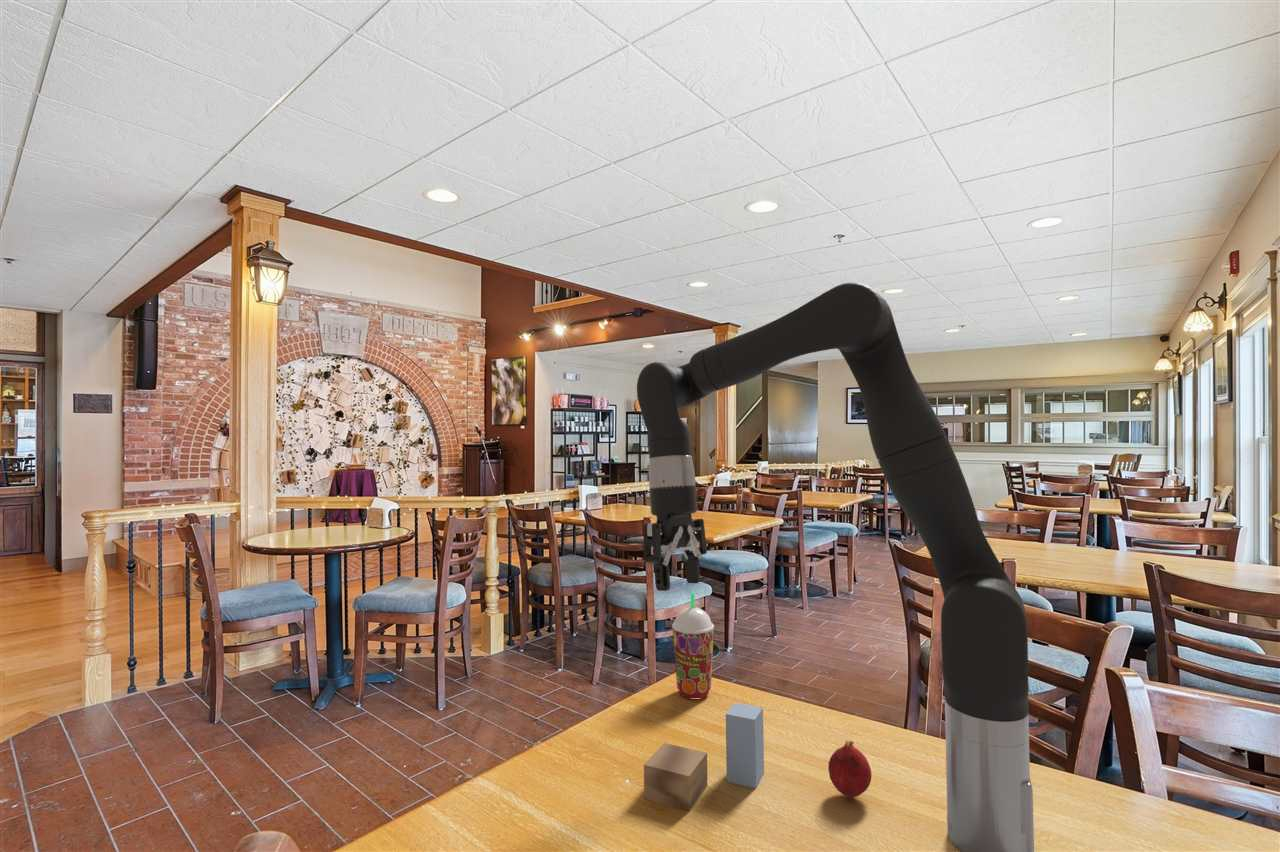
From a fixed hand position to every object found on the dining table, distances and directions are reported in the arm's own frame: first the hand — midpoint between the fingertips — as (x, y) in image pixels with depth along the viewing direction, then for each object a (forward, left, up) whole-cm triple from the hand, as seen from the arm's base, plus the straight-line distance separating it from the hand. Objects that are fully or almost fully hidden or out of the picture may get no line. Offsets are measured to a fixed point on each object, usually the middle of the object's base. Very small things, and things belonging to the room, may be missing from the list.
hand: (679, 586), depth 99 cm
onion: (-26, -1, -28) cm, 38 cm away
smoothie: (+7, -25, -28) cm, 38 cm away
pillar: (-11, 0, -28) cm, 30 cm away
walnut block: (-3, +8, -28) cm, 29 cm away
